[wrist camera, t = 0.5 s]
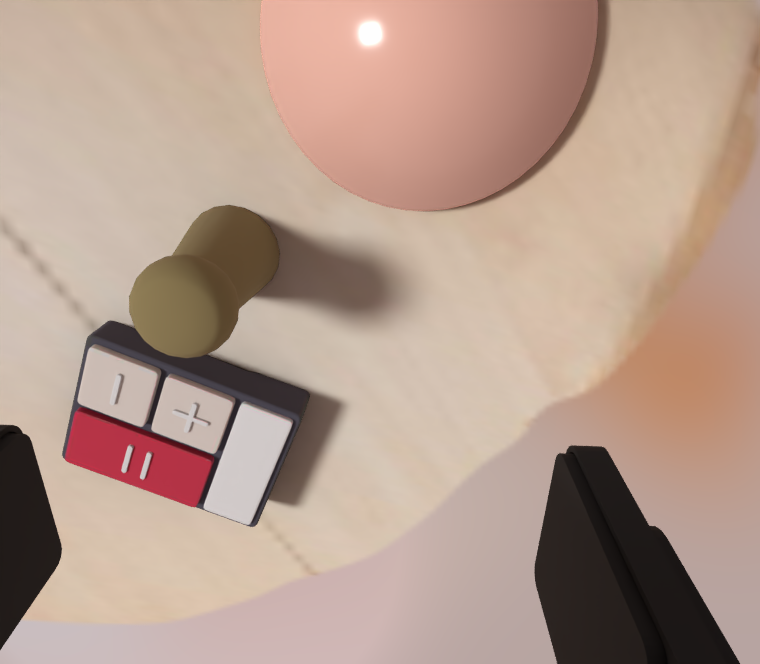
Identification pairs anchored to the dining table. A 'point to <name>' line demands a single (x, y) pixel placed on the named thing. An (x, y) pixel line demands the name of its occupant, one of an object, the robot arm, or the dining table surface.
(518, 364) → the dining table surface
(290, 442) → the calculator
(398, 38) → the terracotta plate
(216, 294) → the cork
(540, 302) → the dining table surface
